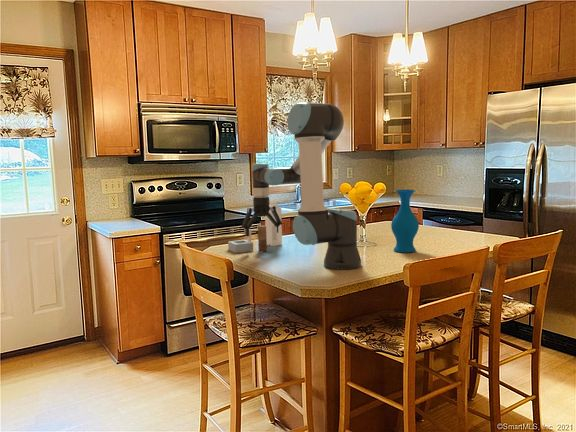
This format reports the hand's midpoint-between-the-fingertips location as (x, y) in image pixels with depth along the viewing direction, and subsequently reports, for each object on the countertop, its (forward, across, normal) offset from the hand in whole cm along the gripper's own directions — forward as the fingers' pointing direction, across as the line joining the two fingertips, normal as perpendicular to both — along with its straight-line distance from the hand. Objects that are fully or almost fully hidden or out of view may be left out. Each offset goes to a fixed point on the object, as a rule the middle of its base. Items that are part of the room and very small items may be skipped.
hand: (262, 241), depth 222 cm
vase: (+5, -54, +38) cm, 66 cm away
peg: (+5, 0, 0) cm, 5 cm away
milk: (+5, -12, -11) cm, 17 cm away
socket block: (+5, +8, -8) cm, 12 cm away
